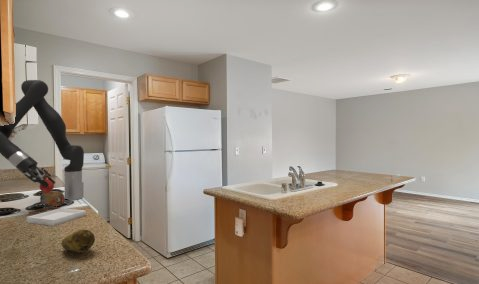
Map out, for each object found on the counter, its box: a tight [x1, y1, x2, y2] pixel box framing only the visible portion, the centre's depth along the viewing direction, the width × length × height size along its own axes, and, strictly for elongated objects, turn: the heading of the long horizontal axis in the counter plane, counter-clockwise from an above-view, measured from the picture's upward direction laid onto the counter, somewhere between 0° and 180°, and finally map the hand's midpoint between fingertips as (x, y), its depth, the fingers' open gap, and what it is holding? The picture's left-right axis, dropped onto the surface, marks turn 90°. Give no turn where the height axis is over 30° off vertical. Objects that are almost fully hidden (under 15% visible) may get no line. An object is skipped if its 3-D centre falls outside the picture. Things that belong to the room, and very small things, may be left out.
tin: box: [39, 190, 65, 207], centre depth 146 cm, size 15×3×8 cm, turn 73°
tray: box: [26, 207, 87, 227], centre depth 121 cm, size 16×16×2 cm
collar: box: [27, 206, 60, 216], centre depth 132 cm, size 11×11×2 cm
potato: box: [61, 229, 96, 253], centre depth 85 cm, size 8×13×8 cm, turn 40°
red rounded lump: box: [39, 178, 55, 194], centre depth 132 cm, size 6×6×8 cm
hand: (50, 184), depth 132 cm, fingers closed on red rounded lump, 5 cm apart
